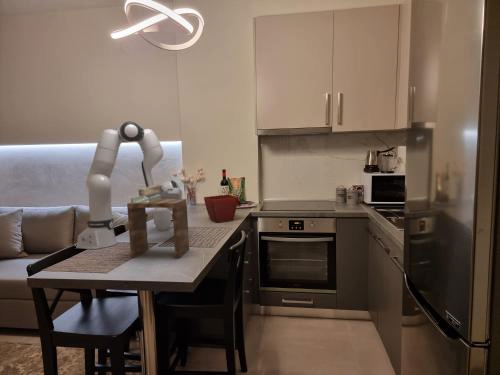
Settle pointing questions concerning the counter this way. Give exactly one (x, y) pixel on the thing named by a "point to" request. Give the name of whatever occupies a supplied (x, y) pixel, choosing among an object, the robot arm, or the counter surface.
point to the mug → (162, 218)
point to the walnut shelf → (140, 227)
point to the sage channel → (141, 199)
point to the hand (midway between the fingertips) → (157, 187)
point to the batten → (149, 190)
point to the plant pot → (221, 207)
